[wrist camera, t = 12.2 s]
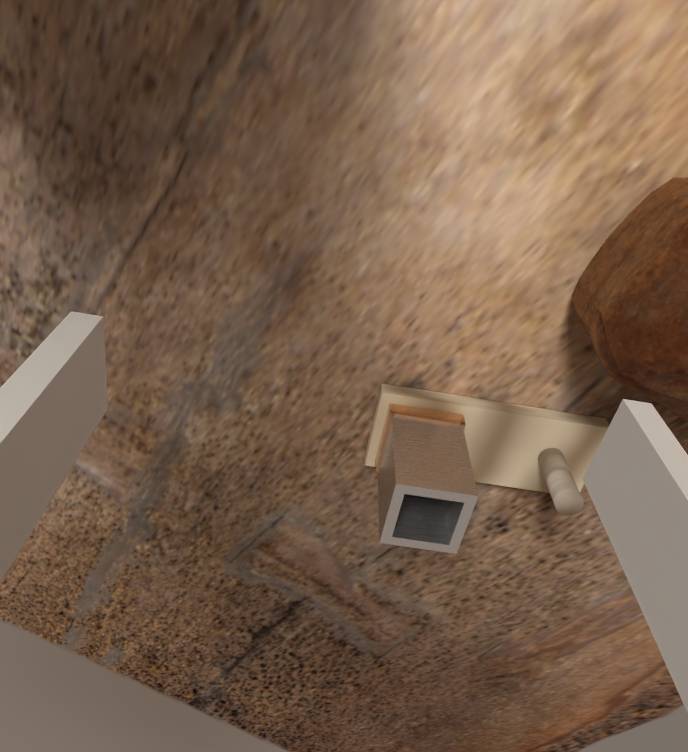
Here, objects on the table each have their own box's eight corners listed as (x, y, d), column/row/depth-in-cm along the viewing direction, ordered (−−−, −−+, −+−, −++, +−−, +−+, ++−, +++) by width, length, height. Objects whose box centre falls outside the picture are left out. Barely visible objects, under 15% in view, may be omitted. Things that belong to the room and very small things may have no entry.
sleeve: (374, 459, 54) (376, 544, 46) (389, 401, 51) (393, 481, 43) (444, 470, 55) (458, 556, 46) (463, 413, 51) (482, 494, 43)
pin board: (365, 454, 56) (364, 512, 50) (381, 383, 52) (383, 436, 45) (572, 486, 57) (598, 546, 51) (605, 418, 53) (638, 474, 47)
